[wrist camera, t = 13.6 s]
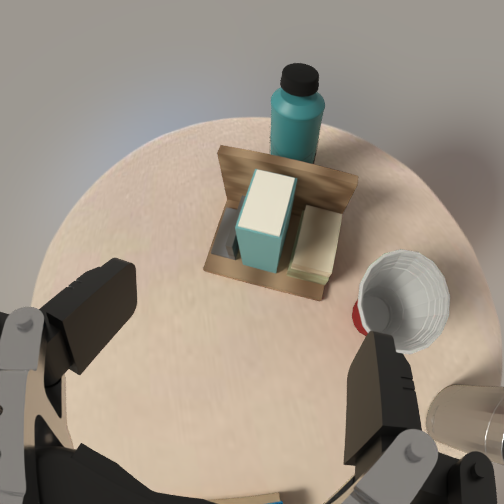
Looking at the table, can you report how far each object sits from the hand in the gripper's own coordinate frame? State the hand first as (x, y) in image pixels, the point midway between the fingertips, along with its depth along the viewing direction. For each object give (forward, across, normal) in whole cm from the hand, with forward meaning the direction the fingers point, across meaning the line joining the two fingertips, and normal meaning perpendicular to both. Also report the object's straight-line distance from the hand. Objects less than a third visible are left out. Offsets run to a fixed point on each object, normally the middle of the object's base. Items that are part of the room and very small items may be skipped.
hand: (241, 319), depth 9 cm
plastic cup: (+26, -14, +16) cm, 34 cm away
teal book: (+29, +3, +11) cm, 31 cm away
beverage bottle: (+39, +2, +3) cm, 39 cm away
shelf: (+30, +2, +11) cm, 32 cm away
